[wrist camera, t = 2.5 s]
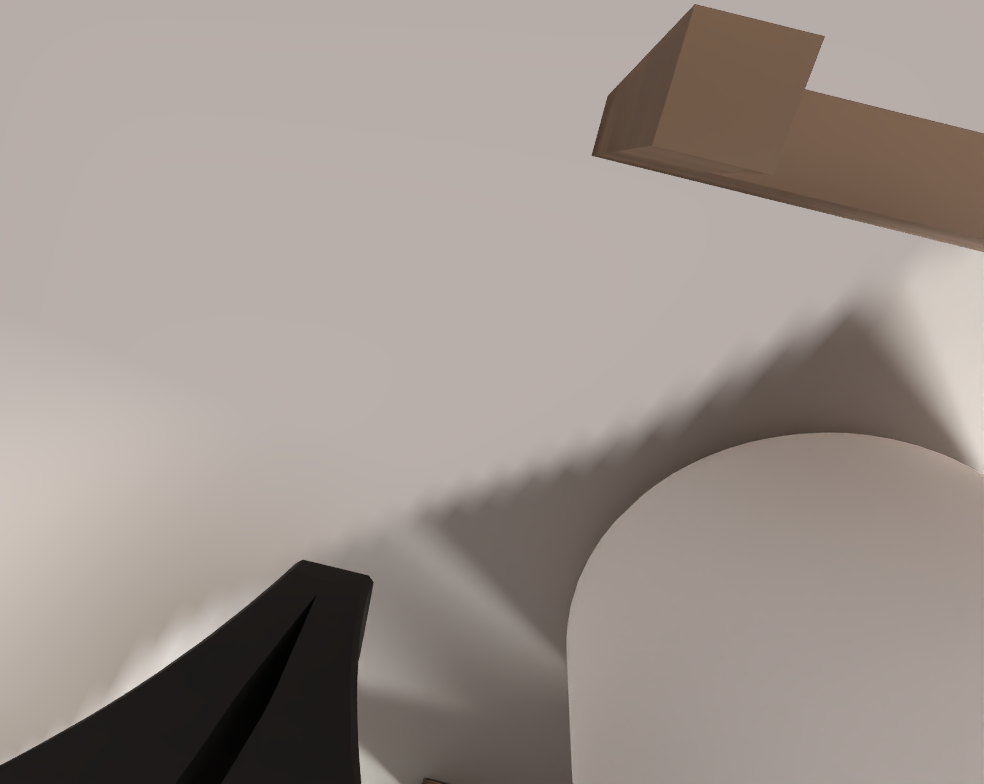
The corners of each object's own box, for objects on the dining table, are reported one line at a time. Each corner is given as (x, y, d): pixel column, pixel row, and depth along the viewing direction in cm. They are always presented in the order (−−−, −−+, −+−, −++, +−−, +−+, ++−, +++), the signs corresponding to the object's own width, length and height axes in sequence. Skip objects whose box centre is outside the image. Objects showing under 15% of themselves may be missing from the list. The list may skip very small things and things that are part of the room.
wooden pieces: (946, 927, 18) (1159, 1330, 11) (417, 801, 17) (350, 1139, 11) (1480, 311, 11) (2724, 507, 5) (607, 95, 10) (694, 4, 4)
